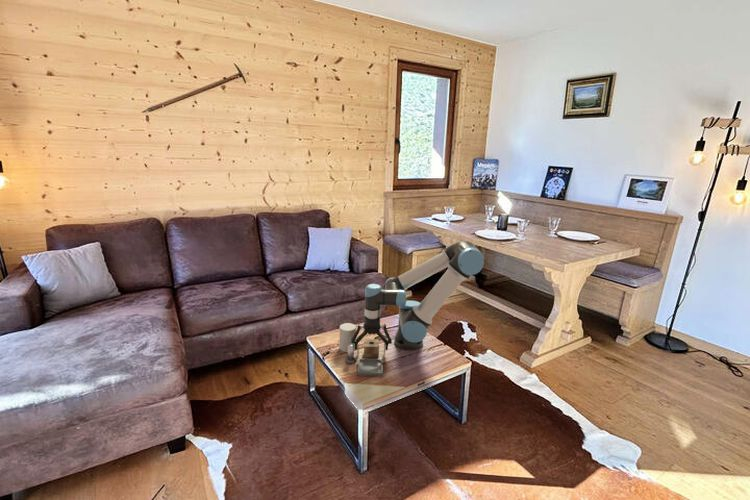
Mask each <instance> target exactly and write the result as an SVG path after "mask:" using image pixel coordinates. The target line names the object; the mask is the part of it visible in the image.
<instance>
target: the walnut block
mask: <svg viewBox="0 0 750 500" xmlns="http://www.w3.org/2000/svg"><path fill="white" fill-rule="evenodd" d="M379 341H380V340H379V339H375V338H374V339H371V338H369V339H368V338H367V339H366V338H365V339H364V342H363V343H364V350H363V351H364V352H363V355H364V356H363V359H380V358H379V357H380V355H379V354H380V343H379Z"/></svg>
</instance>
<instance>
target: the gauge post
mask: <svg viewBox="0 0 750 500" xmlns="http://www.w3.org/2000/svg"><path fill="white" fill-rule="evenodd" d="M356 362H357V358H356V357H355V350H354V344H348V352H347V357H345V363H346V364H349V365H352V364H355V363H356Z"/></svg>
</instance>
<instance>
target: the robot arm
mask: <svg viewBox="0 0 750 500" xmlns="http://www.w3.org/2000/svg"><path fill="white" fill-rule="evenodd" d="M484 259H485V258H484V255H483V253H482V252H481V251H480V250H479V249H478V248H477V247H476V246H475V245H474V244H473V243H472V242H470V241H468V240H461V241H457V242H455V243H453V244H451V245H449V246H447V247H444V249H442V251H441V253H438V254H437V255H434V256H433V257H431V258H429V259H427V260H426V261H424V262H422V263H420V264H418V265H416V266H414V267H412V268H411V269H409V270H407V271H405V272H404V273H402V274H400V275H398V276H396V277H389V278H387V279H386V281H385V284H384V289H383V288H382V286H381V285H380V284H376V283H369V284H367V285H366V286H365V288H364V289H365V291H364V321H363V322H364V323H363V324H360V323H358V324H357V327H356V332H355V334H354V336H353V337H352V339H351V343H354V344H355V350H356V357H357V358H358V357H359V354H360V353H359V352H360V351H359V350H360V349H359V347H360V342H361V341H362V340H363V338H364V337H365V336H367V335H377V336H378V337H379V338H380V339H381V341H382V342H383V357H384V358H385V357H386V351H388V349H389V344H390V345H391V344H392V343H394V345H395V346H397V348H399V349H402V350H407V351H412V350H418V349H420V348H422V347H423V345H424V344H423V343H424V340H425V338H426V337H427V333H428V328H430V327H431V325H433V318H434V316H435V315H436V314H437V313H438V311H439V310H441V307H442V306H444V304H445V303H446V302H447V301H448V299H449V298H450V297H451V296H452V294H453V293H454V292H455V291H456V290H457V288H458V287H459V286H460V284H461V283H462V282H463V281H464V280H465V281H466V280H470V278H471V277H472V276H474V275H477V274H478V273H480V272H481V270H482V269H483V267H484V264H485V260H484ZM446 268H447V270H446V271H445V272H444V273H443V274H442V276H441V277H440V278H439V280H438V281H437V282H436V283H435V284H434V286H433V287H432V289H430V291H429V292H428V294H427V295H426V296H425V297H424V299H422V301H421V302H419V301H416V300H407V292H406V289H407V290H408V288H410V287H412V286H414V285H416V284H418V283H420V282H422V281H424V280H425V279H427V278H429V277H431V276H433V275H434V274H438V272H441V271H442V270H444V269H446ZM382 306H391V307H392V306H393V307H398V308H399V310H398V326H397V331H396V333H395V335H394V340H393V342H392V337H391V335H390V333H389V331H388V329H387V324H386V323H384V324H382V325H381V307H382ZM362 329H363V331H362ZM381 329H382V330H383V332H384V334H385V335H384V334H383V333H382V332H381V331H380V330H381ZM361 331H362V332H361ZM360 332H361V333H360ZM359 333H360V335H359ZM358 335H359V336H358ZM385 336H386V337H385ZM355 339H356V340H355ZM355 350H354V351H355Z"/></svg>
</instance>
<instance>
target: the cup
mask: <svg viewBox="0 0 750 500" xmlns="http://www.w3.org/2000/svg"><path fill="white" fill-rule="evenodd" d="M356 330H357V326H356V324H355V323H351V322H345V323H342V324H340V325H339V350H340V351H341V352H344V353H348V344H354V343H351V339H352V337H353V336H354V334H355V332H356ZM356 339H357V338H356ZM356 339H355V340H356ZM354 351H355V344H354Z"/></svg>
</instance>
